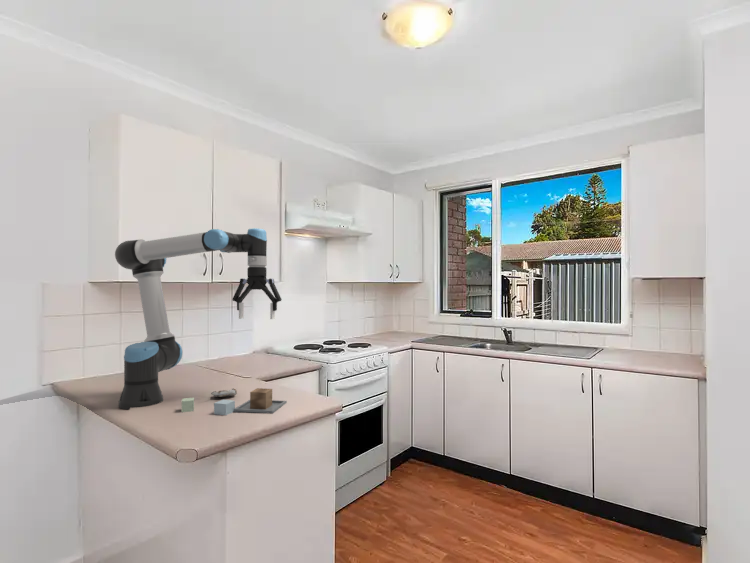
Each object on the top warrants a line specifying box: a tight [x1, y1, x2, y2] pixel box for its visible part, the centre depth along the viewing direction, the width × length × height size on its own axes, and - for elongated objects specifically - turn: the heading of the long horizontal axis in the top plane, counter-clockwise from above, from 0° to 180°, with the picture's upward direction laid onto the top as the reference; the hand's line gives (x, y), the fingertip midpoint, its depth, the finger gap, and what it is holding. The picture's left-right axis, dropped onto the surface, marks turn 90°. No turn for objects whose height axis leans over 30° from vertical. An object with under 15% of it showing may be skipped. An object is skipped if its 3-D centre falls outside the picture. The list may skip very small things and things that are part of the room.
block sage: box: [181, 397, 195, 413], centre depth 159 cm, size 4×4×4 cm
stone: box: [210, 388, 238, 398], centre depth 177 cm, size 10×7×3 cm
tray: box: [233, 399, 287, 415], centre depth 162 cm, size 15×14×1 cm
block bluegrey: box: [213, 399, 236, 416], centre depth 156 cm, size 5×5×4 cm
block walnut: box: [249, 387, 273, 409], centre depth 162 cm, size 6×6×6 cm
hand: (256, 318), depth 179 cm, fingers open, 13 cm apart
